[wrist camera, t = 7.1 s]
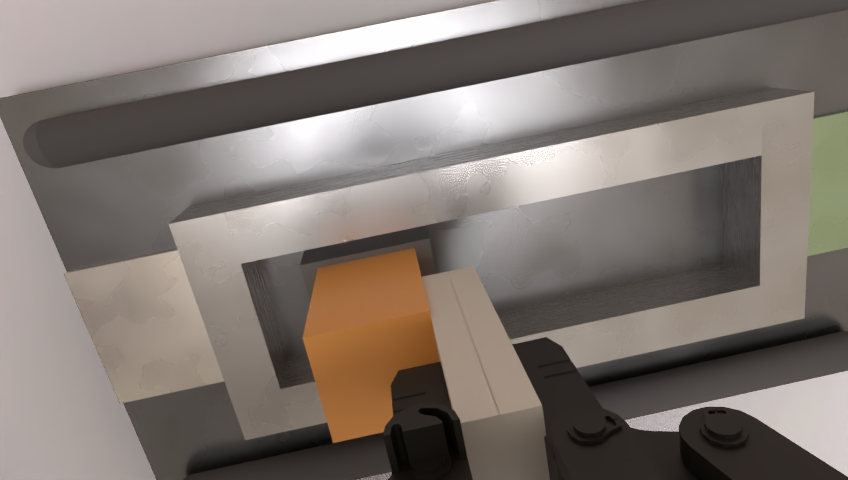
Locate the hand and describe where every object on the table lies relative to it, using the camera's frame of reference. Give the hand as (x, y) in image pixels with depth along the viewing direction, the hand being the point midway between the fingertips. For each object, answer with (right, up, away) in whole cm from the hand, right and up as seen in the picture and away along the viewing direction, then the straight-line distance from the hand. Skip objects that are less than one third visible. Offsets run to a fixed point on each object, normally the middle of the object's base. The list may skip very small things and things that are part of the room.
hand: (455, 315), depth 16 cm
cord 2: (+1, +8, +1) cm, 8 cm away
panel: (+2, +2, +5) cm, 5 cm away
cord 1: (+3, -4, +6) cm, 8 cm away
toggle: (-3, +1, +3) cm, 4 cm away
